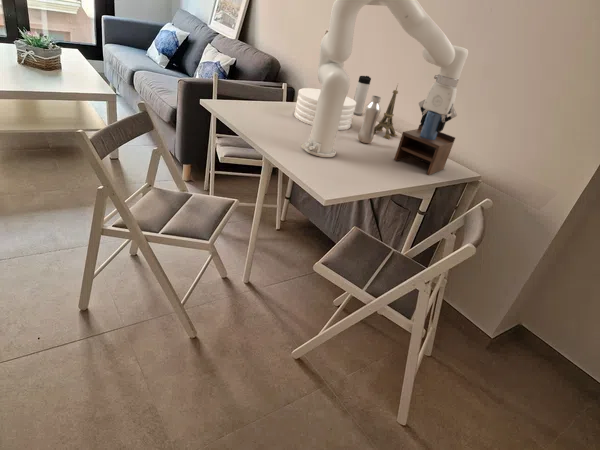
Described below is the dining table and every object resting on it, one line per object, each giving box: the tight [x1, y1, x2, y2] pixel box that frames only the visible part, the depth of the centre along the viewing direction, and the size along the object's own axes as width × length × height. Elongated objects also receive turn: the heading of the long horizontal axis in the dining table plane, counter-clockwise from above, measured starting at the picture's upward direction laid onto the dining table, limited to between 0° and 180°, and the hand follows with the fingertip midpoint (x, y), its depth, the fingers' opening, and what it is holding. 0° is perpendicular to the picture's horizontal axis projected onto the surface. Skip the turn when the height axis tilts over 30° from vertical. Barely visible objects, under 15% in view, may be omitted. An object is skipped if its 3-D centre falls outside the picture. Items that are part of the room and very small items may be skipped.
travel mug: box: [353, 75, 372, 116], centre depth 225 cm, size 6×7×20 cm
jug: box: [420, 110, 442, 140], centre depth 164 cm, size 10×6×10 cm, turn 138°
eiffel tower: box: [374, 84, 399, 140], centre depth 198 cm, size 11×11×25 cm
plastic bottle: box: [357, 95, 382, 144], centre depth 180 cm, size 6×7×20 cm
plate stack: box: [293, 87, 356, 131], centre depth 201 cm, size 28×28×12 cm
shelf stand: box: [393, 124, 456, 176], centre depth 169 cm, size 14×16×14 cm
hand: (430, 128), depth 164 cm, fingers closed on jug, 6 cm apart
